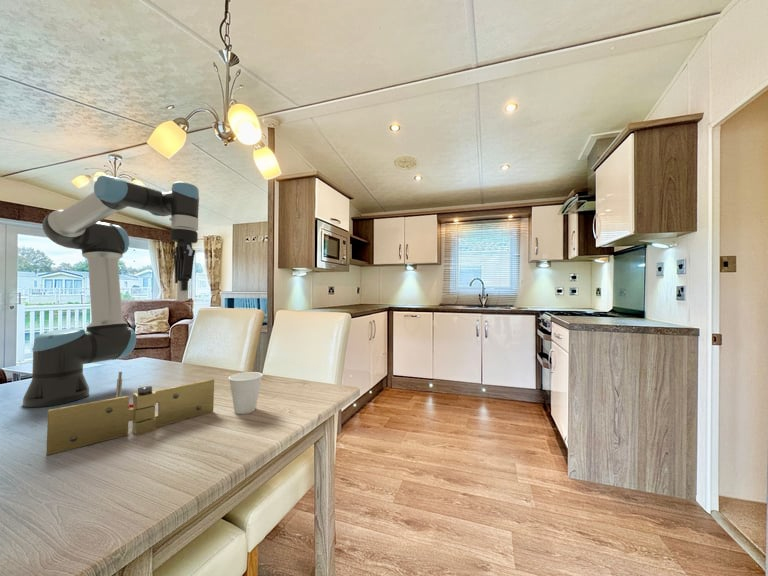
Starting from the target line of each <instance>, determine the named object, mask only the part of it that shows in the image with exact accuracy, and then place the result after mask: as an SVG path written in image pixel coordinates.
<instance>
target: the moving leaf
mask: <svg viewBox="0 0 768 576" xmlns="http://www.w3.org/2000/svg"><path fill="white" fill-rule="evenodd" d="M129 404H130V395H125V396H123V395H122V396H121V397H118V398H116V397H113V398H107V399H102V400H97V401H90V402H87V403H86V402H85V403H80V404H74V405H69V406H63V407H58V408H51V409H47V425H46V427H47V429H46V450H45V453H46V456H49V455H51V454H56V453H60V452H64V451H67V450H72V449H77V448H79V447H80V448H81V447H83V446H89V445H92V444H96V443H100V442H101V443H102V442H104V441H109V440H112V439H116V438H120V437H125V436H127V435H129V422H132V421H134V420H135V422H139V421H143V420H147V419H152V418H155V415H156V405H154V406H149V407H147V408H142V409H136V408H135V407H130V408H129Z"/></svg>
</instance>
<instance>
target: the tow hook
mask: <svg viewBox="0 0 768 576" xmlns="http://www.w3.org/2000/svg"><path fill="white" fill-rule="evenodd" d="M122 388H123V372H122V371H118V377H117V379H116V391H115V398H118V397H122V390H123V389H122ZM131 408H134V406H133V403H129V409H131Z"/></svg>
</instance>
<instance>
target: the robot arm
mask: <svg viewBox="0 0 768 576" xmlns="http://www.w3.org/2000/svg"><path fill="white" fill-rule="evenodd" d="M199 192H200V191H199V187H197V186H196V185H195V184H192V183H189V182H185V181H175V182H173V184H172V186H171V191H166V192H164V191H161V190H160V191H159V190H156V189H155V188H150V187H147V186H144V185H140V184H138V183H134V182H131V181H128V180H125V179H122V178H120V177H115V176H110V175H106V174H104V175H103V174H101V175H100V176H98V177H97V178H96V180H95V182H94V185H93V192H92V193H90V194H87V195H86V196H85V197H83V198H81V199H79V200H78V201H76V202H75V203H73V204H71V205H70V206H68V207H66V208H64V209H56V210H54V211H52V212H50V213H49V214H48V215H46V216H45V217H44V219H43V221H42V224H41V225H42V230H43V233H44V234H45V236H46V237H47V238H48V239H49V240H50V241H52V242H53V243H55V244H56V245H59V246H61V247H63V248H67V249H75V250H81V254H82V255H81V256H82V257H83V258H84V259H86V260H87V262H88V280H89V282H88V283H89V295H90V296H89V298H90V311H91V312H90V313H91V322H90V323H89V324H88V325H86V330H85V329H84V328H82V327H81V328H80V327H72V328H66V329H65V328H64V329H56V330H52V331H51V330H50V331H48V332H47V331H46V332H43V333H40V334H38V335H37V336H36V337H35V338H34V341H33V347H32V374H31V382H30V383H29V386H28V388H27V390H26V391H25V393H24V396H23V397H22V407H26V408H44V407H51V406H58V405H63V404H67V403H71V402H76V401H79V400H82V399H84V398H86V397H88V396H89V395H90V386H89V385H88V383H87V380H86V378H85V375H84V365H88V364H93V363H94V364H95V363H98V362H99V363H100V362H107V361H115V360H118V359H122V358H126V357H128V356H129V355H130V354H131V353H132V352H133V350H134V349H135V347H136V344H137V334H136V332H135V330H134V329H133V328H131V327H129V326H128V322H127V321H126V320H124V319H123V313H122V298H121V283H120V271H119V270H120V269H119V260H120V259H122V258H123V255H124V254H126V253H127V252H128V250H129V246H130V238H129V235H128V233H127V231H126V230H125V228H123V227H122V226H120V225H117V224H113V223H109V222H102V220H105V219H106V218H108V217H110V216H113V215H114V214H115V213H118V212H120V211H121V210H124V209H125V208H127V207H128V208H129V207H130V208H133V209H138V210H142V211H146V212H148V213H150V214H152V215H153V216H155V217H168V216H171V217H170V218H169V221H170V222H171V223H170V225H171V226H170V227H171V228H172V229H171V230H170V241H172V242H175V243H176V247H175V250H174V251H173V252H172V254H173V259H174V260H173V262H174V278H175V279H176V280H177V288H176V289H177V290H176V292H177V293H176V301H178V302H180V301H184V302H185V301H186V302H187V301H188V300H189V281H190V280H191V279H192V275H193V269H194V260H195V254H196V250H195V249H193V244H197V243H198V234H199V233H198V230H199V207H200V206H199V205H200V204H199V203H200V197H199Z"/></svg>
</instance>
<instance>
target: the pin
mask: <svg viewBox="0 0 768 576" xmlns="http://www.w3.org/2000/svg"><path fill="white" fill-rule="evenodd" d="M152 390H153V386H151V385H150V386H148V385H145V386H141V387H138V388H137V393H138V394H141V395H146V394H149V393H151V392H152ZM141 395H140V396H141ZM145 408H147V407H145ZM141 409H142V408H141ZM147 420H148V419H147ZM143 421H145V420H143ZM140 422H141V421H140Z"/></svg>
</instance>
